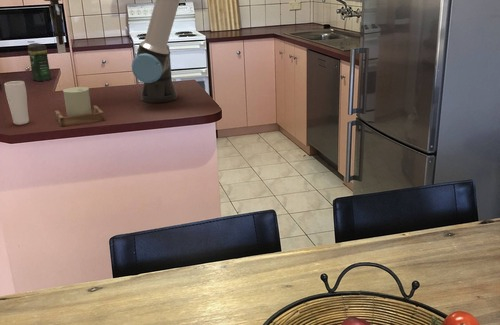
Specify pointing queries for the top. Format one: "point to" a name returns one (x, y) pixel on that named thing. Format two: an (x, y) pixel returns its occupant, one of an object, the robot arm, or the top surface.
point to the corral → (80, 117)
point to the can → (77, 101)
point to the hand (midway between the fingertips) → (62, 52)
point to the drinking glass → (17, 101)
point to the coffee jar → (39, 62)
